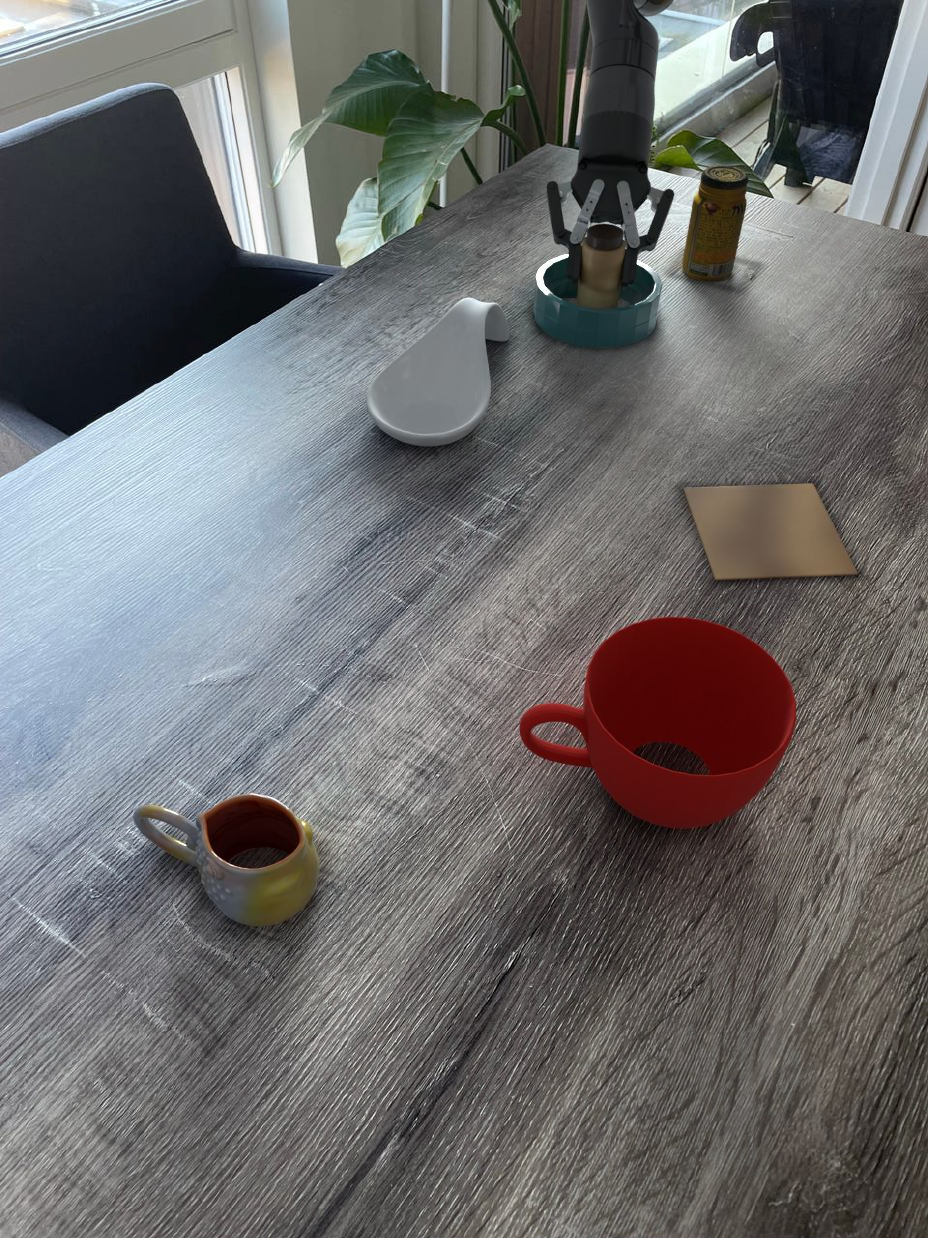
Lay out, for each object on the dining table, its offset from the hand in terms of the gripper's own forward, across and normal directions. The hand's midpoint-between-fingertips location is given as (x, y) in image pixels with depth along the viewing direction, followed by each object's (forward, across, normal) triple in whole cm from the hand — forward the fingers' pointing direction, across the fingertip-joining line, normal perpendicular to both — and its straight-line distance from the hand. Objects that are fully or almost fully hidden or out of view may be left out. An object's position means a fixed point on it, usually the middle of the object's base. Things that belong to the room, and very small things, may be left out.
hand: (599, 284), depth 107 cm
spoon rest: (+15, -14, -7) cm, 22 cm away
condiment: (-6, +13, +15) cm, 21 cm away
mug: (+54, -20, -46) cm, 74 cm away
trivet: (+27, +16, -19) cm, 37 cm away
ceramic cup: (+47, +6, -39) cm, 61 cm away
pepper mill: (+2, 0, +4) cm, 4 cm away
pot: (+3, 0, +5) cm, 6 cm away
